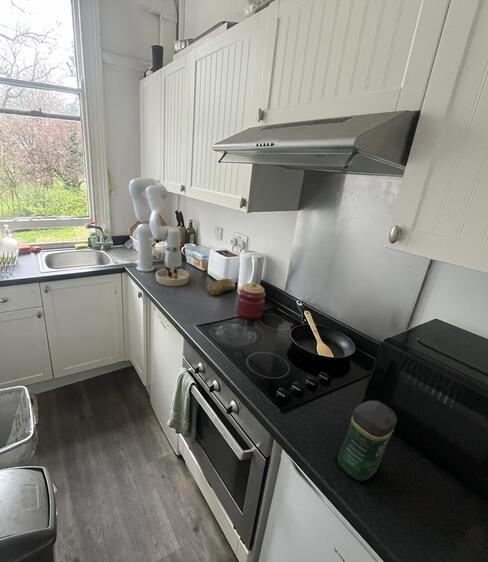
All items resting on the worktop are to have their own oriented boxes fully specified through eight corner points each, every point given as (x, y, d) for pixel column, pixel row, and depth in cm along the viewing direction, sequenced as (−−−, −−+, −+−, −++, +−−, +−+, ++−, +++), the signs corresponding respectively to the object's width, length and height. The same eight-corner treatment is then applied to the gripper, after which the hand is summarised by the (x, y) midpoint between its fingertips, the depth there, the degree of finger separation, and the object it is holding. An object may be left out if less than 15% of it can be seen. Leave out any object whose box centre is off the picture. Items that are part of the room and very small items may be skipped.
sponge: (224, 287, 188) (199, 286, 176) (228, 276, 185) (203, 274, 173) (236, 298, 179) (210, 298, 167) (241, 287, 176) (215, 286, 164)
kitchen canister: (254, 307, 161) (259, 276, 154) (266, 318, 149) (272, 286, 143) (232, 309, 157) (236, 277, 150) (243, 321, 145) (248, 287, 139)
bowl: (148, 281, 186) (148, 274, 185) (168, 272, 204) (168, 266, 202) (176, 289, 177) (177, 282, 175) (195, 279, 194) (195, 272, 193)
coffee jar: (360, 488, 71) (382, 430, 64) (331, 461, 77) (349, 405, 70) (382, 469, 76) (405, 414, 69) (353, 445, 82) (372, 392, 75)
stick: (177, 279, 186) (177, 275, 185) (173, 279, 185) (173, 275, 184) (171, 274, 194) (171, 270, 193) (167, 274, 193) (167, 270, 192)
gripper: (163, 251, 176) (163, 280, 183) (187, 249, 184) (186, 277, 190) (158, 248, 182) (158, 276, 188) (182, 246, 190) (181, 273, 196)
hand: (172, 276), depth 189 cm, fingers closed on stick, 2 cm apart
